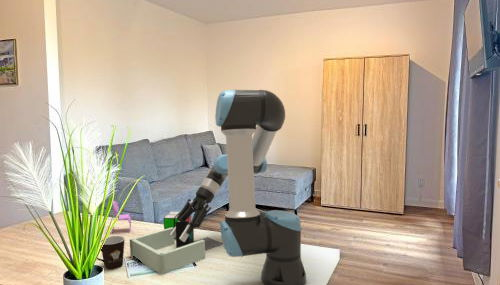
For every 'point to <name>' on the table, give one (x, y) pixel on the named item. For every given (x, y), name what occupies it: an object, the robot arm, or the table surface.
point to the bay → (168, 260)
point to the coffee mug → (113, 252)
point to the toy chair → (121, 217)
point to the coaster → (210, 243)
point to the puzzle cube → (172, 220)
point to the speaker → (179, 230)
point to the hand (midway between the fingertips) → (177, 238)
